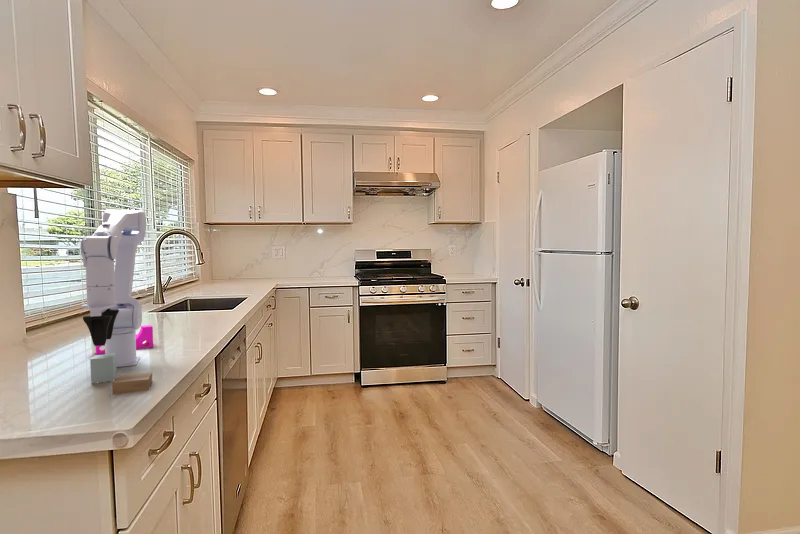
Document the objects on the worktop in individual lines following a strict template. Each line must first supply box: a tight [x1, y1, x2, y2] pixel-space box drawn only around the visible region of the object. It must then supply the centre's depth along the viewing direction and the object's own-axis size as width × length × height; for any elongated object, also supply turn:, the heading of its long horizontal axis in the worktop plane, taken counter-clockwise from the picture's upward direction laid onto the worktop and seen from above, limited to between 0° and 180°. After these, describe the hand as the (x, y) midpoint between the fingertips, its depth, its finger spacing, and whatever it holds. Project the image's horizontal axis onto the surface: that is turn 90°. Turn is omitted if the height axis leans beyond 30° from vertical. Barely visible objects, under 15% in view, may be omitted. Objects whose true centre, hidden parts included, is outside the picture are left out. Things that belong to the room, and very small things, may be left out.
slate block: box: [89, 354, 118, 384], centre depth 110 cm, size 4×4×6 cm
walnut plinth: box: [111, 371, 153, 395], centre depth 104 cm, size 7×7×3 cm
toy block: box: [94, 324, 154, 355], centre depth 142 cm, size 15×6×8 cm, turn 127°
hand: (102, 342), depth 110 cm, fingers open, 7 cm apart
